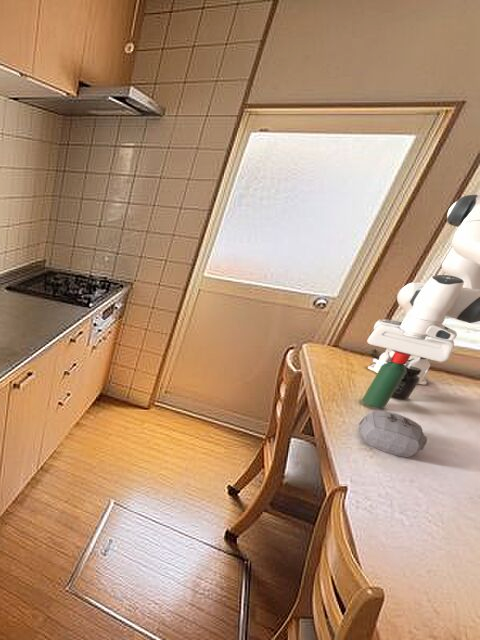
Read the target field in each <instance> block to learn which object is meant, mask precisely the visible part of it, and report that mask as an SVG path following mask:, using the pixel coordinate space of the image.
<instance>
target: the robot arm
mask: <svg viewBox="0 0 480 640" xmlns="http://www.w3.org/2000/svg"><path fill="white" fill-rule="evenodd" d="M446 222H447V224H448V225H450V226H453V227H457V229H456V231H455V232H454V235H453V237H452V240H451V248H450V250H449V251H448V253H447V255H446V256H445V258H444V260H443V261H442V263H441V269H442V271H443V272H444V273H445V274H436V275H432V276H430V277H429V279H428V280H427V281H425V282H409V283H407V284H406V285H404V286H403V287H402V288H400V290H398V292H397V296H396V301H397V304H398V305H399V306H400V308H401V309H402V310H403V312H404V315H405V316H404V317H403V319H402V321H398V320H391V319H388V318H383V319H378V320H377V321H375V323H374V325H373V331H372V332H371V334H370V335H369V336H368V338H367V340H366V342H367V344H368V345H370V346H375V347H379V348H382V349H386V350H385V351H384V352H383V353H381V354H380V355H378V354H376V353H375V352H377V350H376V349H377V348H374V349H373V350H372V353H371V354H372V356H374V357H376V358H378V359H376V358H373V360H372V362H374V363H373V364H371V365H368V367H367V369H368V370H370V371H371V372H374V373H375V374H377V373H378V371H379V370H380V368H381V366H382V365H383V364H384V363H387V362H388V363H390V362H391V360H392V356H393V355H394V353H395V352H396V351H398V352H402V353H406V354H410V355H411V356H410V358H409V359H408V361H407V362H406V363H405V364H404V366H403V367H407V368H409V367H410V366H413V367H416V368H419V369H421V372H420V374H419V375H418V377H419V378H420V380H419V382H418V384H417V385H424V386H426V385H427V384H428V381H427V380H426V379H425V375H426V374H427V373H428V370H429V369H430V367H431V363H430V362H429V360H431V361H433V362H434V361H435V362H439V363H444V362H448V360H449V359H450V357H451V355H452V353H453V351H454V350H453V349H454V346H455V341H454V340H455V339H456V338H457V336H458V333H457V331H455V330H454V329H452V328H449V327H447V326H446V325H443V323H444V322H445V318H451V319H455V320H458V321H461V322H466V323H468V324H474V323H478V322H480V195H478V194H467V195H464V196H462V197H459V198H458V199H457V200H456V201H455V202H454V203H453V204H452V205H451V206H450V207H449V209H448V211H447V214H446Z"/></svg>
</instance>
